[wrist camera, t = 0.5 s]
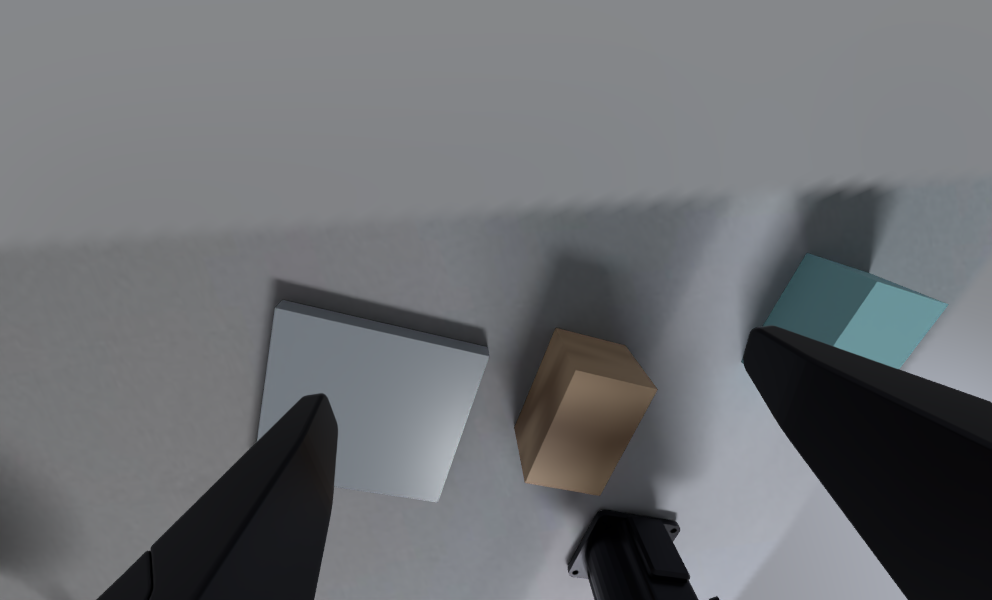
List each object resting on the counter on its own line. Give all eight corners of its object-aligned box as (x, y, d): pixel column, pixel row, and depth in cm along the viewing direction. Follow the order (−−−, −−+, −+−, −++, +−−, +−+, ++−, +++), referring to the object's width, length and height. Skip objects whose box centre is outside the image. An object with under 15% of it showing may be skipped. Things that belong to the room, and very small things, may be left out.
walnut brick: (578, 439, 28) (600, 495, 24) (514, 426, 27) (525, 482, 23) (624, 344, 25) (657, 389, 21) (555, 326, 24) (575, 370, 20)
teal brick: (797, 375, 28) (858, 421, 23) (739, 360, 27) (791, 406, 23) (867, 272, 25) (948, 304, 21) (805, 252, 24) (877, 281, 20)
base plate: (438, 489, 28) (437, 502, 27) (259, 461, 26) (252, 474, 25) (487, 347, 24) (489, 356, 23) (282, 299, 22) (274, 307, 21)
